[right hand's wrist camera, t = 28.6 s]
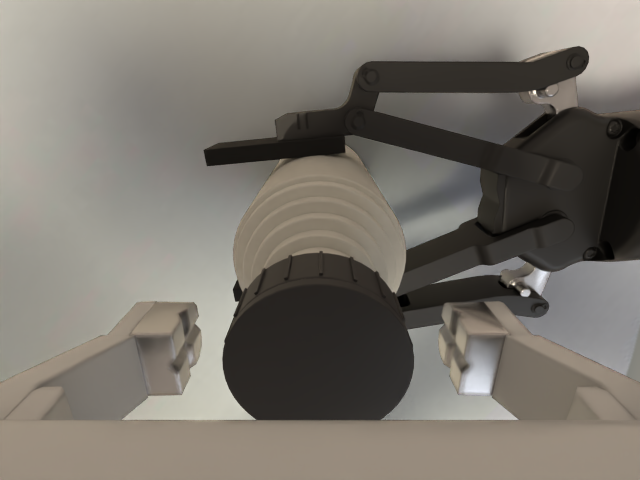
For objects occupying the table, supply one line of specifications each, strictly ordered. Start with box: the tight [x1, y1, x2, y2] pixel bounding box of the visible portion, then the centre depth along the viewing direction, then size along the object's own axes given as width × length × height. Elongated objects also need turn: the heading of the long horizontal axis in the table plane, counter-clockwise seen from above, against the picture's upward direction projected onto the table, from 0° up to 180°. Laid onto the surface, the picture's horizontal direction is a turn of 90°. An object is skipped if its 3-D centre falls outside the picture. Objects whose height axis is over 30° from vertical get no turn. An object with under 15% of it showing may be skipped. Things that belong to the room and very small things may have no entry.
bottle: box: [233, 145, 406, 294], centre depth 17 cm, size 7×7×17 cm
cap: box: [223, 251, 414, 420], centre depth 9 cm, size 4×4×2 cm
